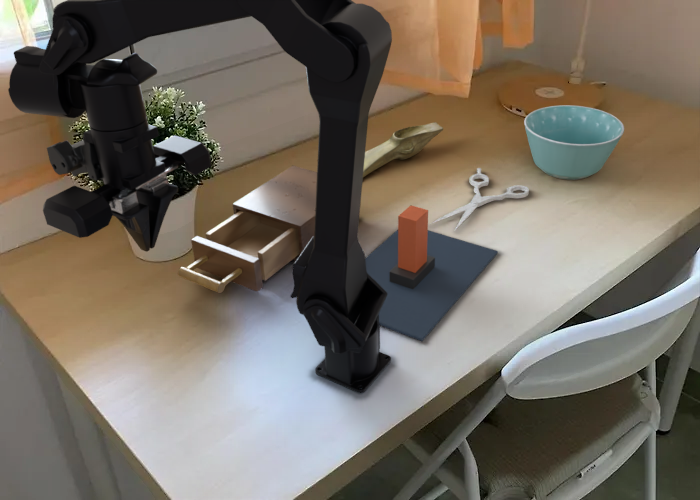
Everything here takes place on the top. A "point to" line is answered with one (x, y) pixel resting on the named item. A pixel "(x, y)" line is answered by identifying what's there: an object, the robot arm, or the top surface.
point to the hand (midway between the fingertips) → (147, 248)
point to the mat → (426, 282)
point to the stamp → (412, 248)
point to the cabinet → (286, 202)
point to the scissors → (484, 197)
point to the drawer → (242, 252)
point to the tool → (400, 145)
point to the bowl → (571, 139)
